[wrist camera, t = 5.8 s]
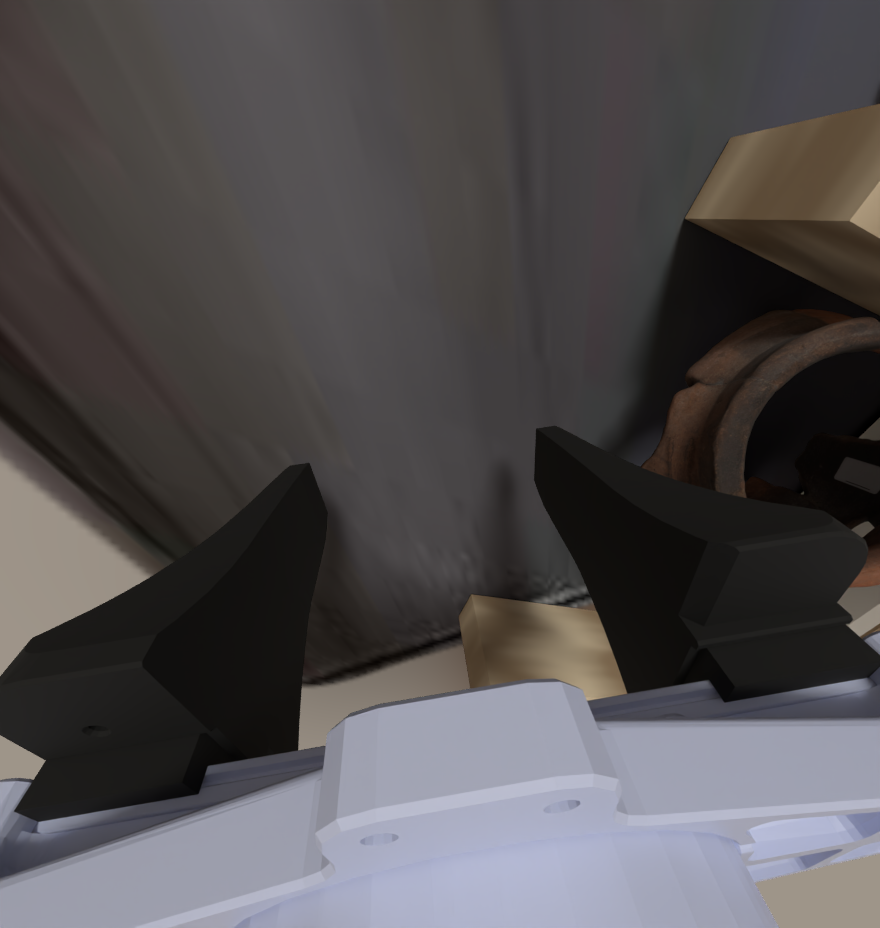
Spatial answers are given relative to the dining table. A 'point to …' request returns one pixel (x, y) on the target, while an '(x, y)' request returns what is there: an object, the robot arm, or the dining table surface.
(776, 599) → the robot arm
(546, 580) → the dining table surface
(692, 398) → the pottery mug
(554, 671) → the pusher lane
